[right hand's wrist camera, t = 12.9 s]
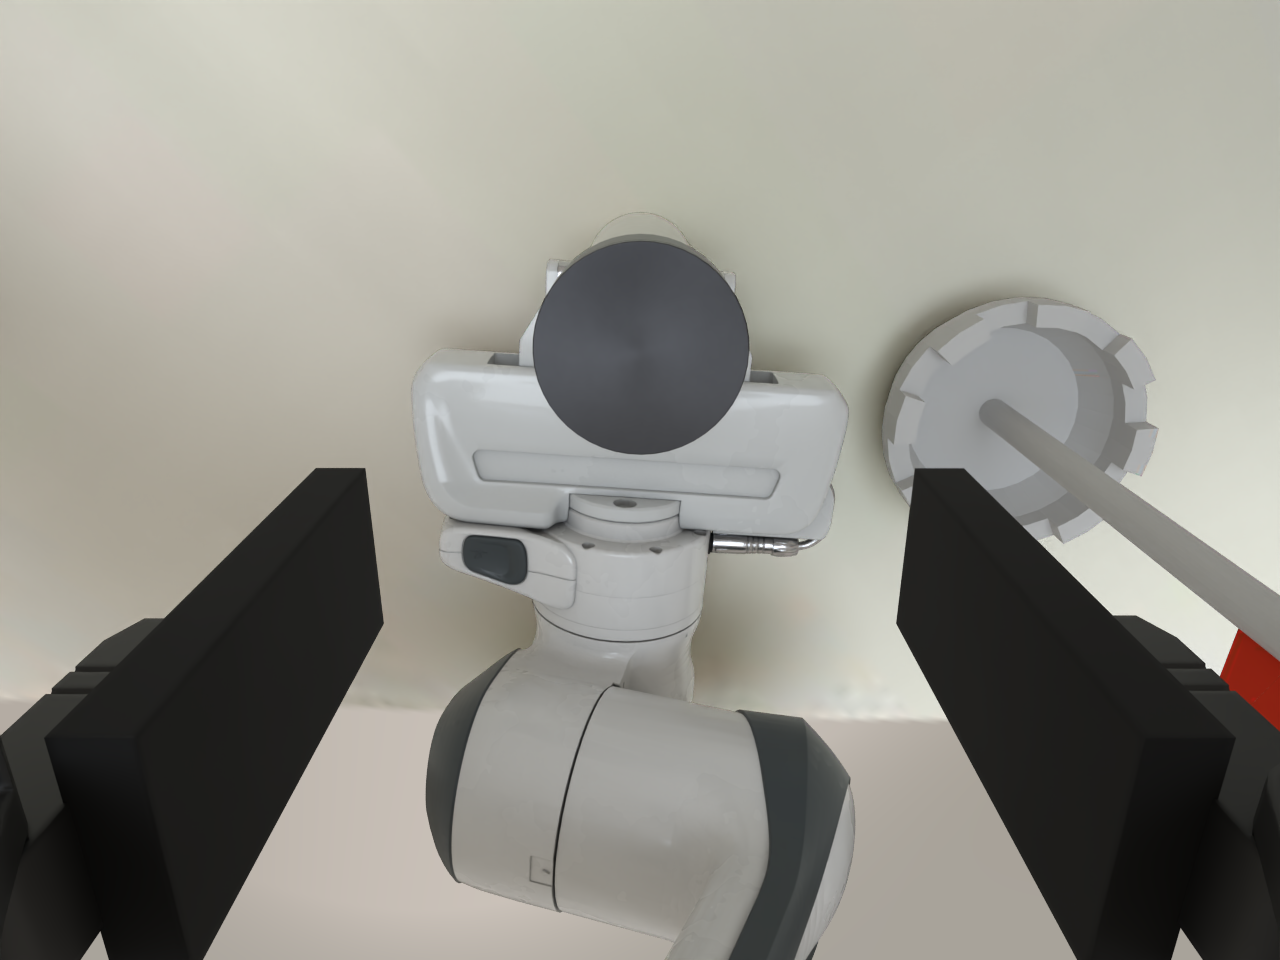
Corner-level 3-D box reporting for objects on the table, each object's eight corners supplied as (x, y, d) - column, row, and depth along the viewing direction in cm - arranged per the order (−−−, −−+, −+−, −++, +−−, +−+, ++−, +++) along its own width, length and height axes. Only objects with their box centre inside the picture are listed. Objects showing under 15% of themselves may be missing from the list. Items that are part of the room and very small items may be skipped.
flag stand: (964, 240, 45) (1493, 394, 17) (1155, 364, 48) (1899, 677, 19) (821, 448, 49) (1062, 846, 21) (1005, 552, 52) (1441, 1036, 23)
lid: (523, 249, 28) (513, 257, 26) (730, 219, 28) (738, 225, 26) (558, 445, 30) (552, 468, 28) (750, 419, 30) (758, 440, 28)
